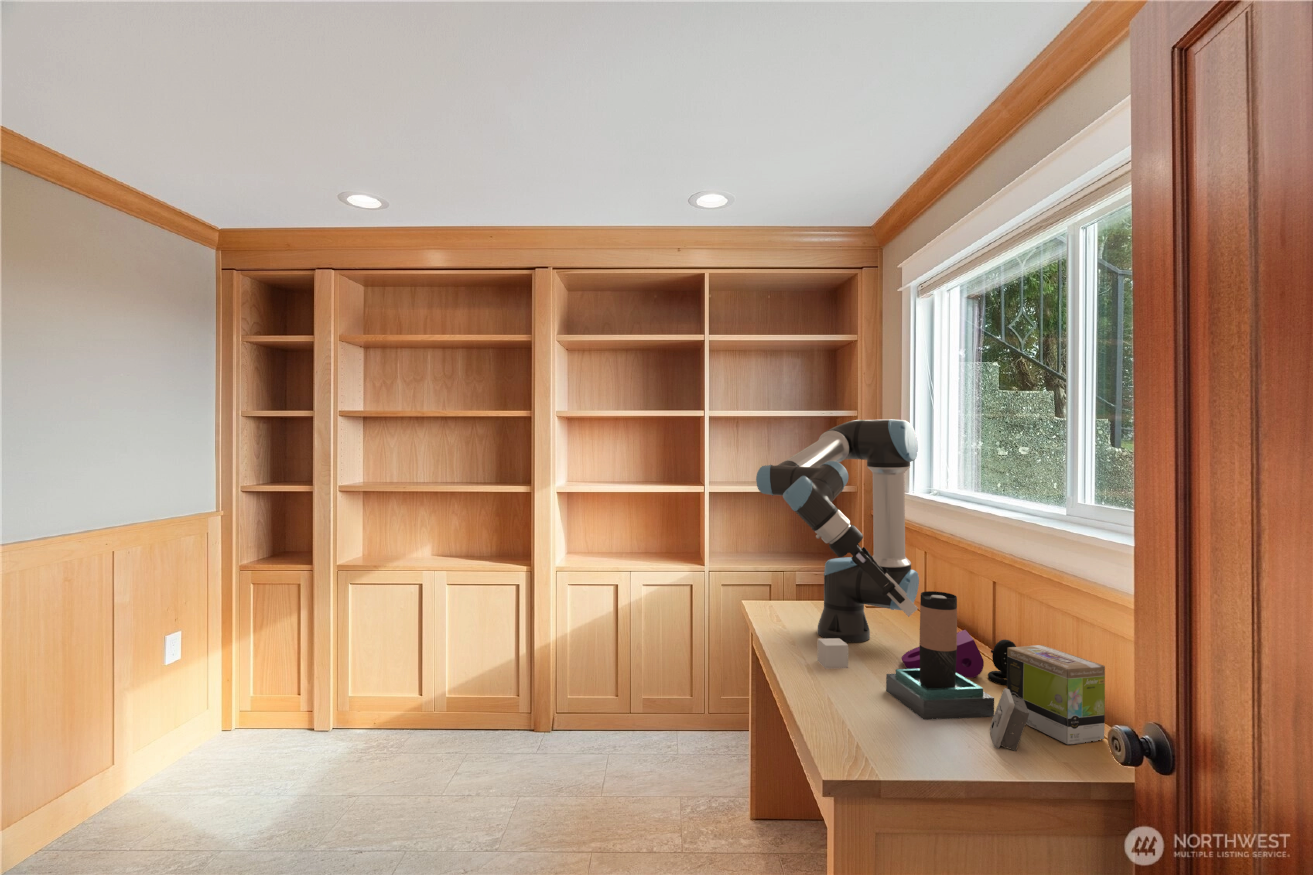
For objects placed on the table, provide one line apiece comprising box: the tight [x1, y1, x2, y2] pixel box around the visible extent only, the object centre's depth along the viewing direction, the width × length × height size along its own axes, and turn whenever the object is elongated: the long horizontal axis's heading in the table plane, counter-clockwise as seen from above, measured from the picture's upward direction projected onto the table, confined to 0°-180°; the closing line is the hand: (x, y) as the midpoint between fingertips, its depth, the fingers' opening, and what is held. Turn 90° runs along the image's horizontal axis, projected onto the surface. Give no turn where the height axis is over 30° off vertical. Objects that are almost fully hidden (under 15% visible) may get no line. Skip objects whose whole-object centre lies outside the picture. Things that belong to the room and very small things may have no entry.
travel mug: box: [918, 590, 958, 688], centre depth 146 cm, size 8×8×20 cm
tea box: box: [1006, 644, 1106, 745], centre depth 135 cm, size 15×10×15 cm, turn 17°
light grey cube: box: [816, 638, 849, 670], centre depth 171 cm, size 6×6×6 cm
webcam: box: [987, 639, 1017, 686], centre depth 161 cm, size 8×8×10 cm
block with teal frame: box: [885, 668, 995, 721], centre depth 146 cm, size 16×16×6 cm
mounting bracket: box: [900, 629, 985, 679], centre depth 169 cm, size 10×8×18 cm
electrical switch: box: [989, 687, 1029, 752], centre depth 127 cm, size 9×5×9 cm, turn 158°
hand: (907, 604), depth 147 cm, fingers open, 13 cm apart
